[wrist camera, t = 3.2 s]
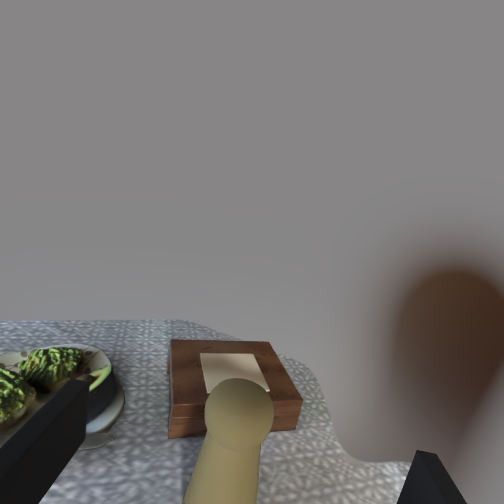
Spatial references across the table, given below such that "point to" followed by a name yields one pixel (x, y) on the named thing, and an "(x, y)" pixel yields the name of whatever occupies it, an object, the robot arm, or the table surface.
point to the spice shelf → (217, 370)
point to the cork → (231, 444)
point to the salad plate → (52, 380)
